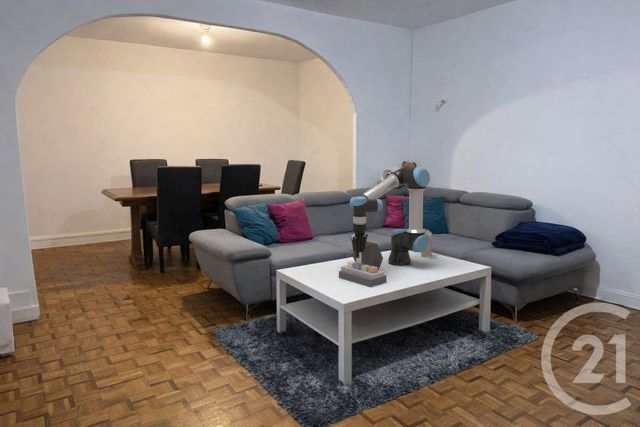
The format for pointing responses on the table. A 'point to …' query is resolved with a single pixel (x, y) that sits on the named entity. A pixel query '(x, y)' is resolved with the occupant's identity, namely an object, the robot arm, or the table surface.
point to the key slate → (358, 265)
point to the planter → (371, 255)
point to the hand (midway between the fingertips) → (358, 262)
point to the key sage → (365, 267)
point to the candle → (428, 250)
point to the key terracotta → (373, 269)
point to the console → (362, 276)
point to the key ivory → (351, 264)
